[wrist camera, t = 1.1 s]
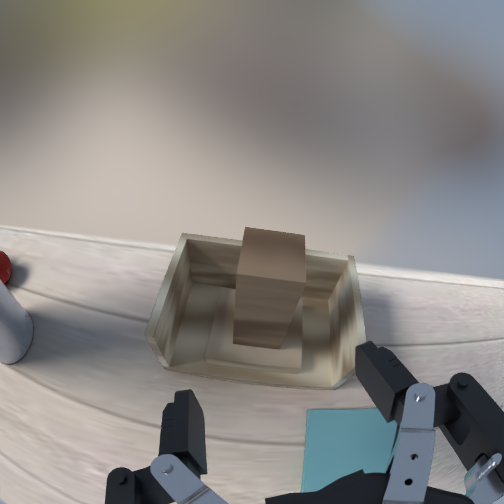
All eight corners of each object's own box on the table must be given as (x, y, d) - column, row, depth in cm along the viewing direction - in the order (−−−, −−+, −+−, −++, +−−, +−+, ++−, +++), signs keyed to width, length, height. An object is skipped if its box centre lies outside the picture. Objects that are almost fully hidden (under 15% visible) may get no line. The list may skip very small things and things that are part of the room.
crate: (334, 389, 28) (368, 361, 22) (164, 368, 29) (144, 334, 22) (331, 300, 37) (353, 256, 31) (189, 281, 37) (182, 232, 31)
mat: (399, 496, 18) (403, 496, 17) (298, 509, 18) (301, 511, 18) (399, 408, 26) (403, 405, 26) (307, 410, 26) (309, 409, 26)
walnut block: (279, 349, 28) (306, 282, 20) (232, 343, 29) (236, 273, 20) (281, 310, 32) (304, 235, 23) (238, 305, 32) (245, 227, 23)
